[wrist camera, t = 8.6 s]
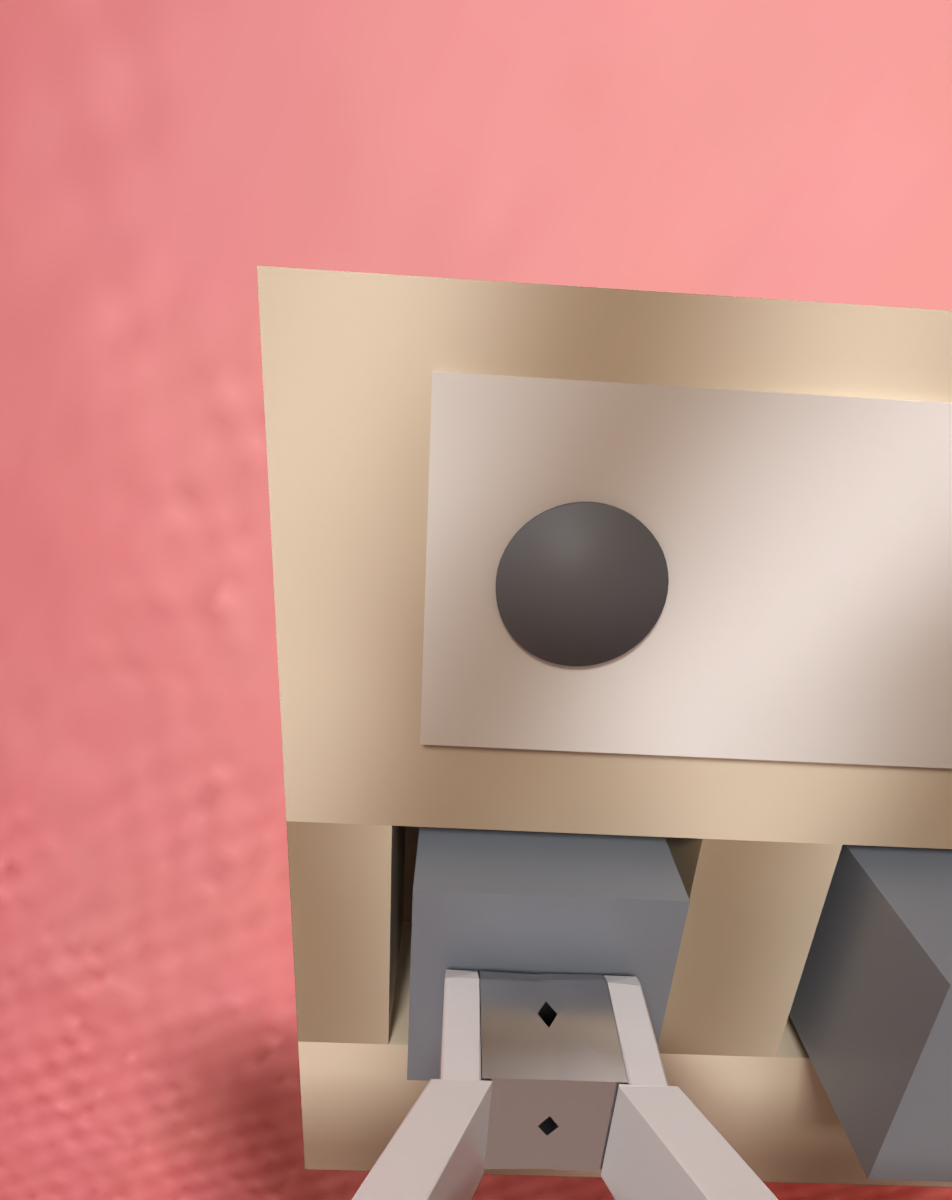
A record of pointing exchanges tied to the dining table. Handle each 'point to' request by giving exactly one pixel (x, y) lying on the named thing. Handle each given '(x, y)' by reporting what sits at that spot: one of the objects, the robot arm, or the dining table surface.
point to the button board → (602, 642)
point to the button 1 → (538, 916)
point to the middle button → (885, 1008)
